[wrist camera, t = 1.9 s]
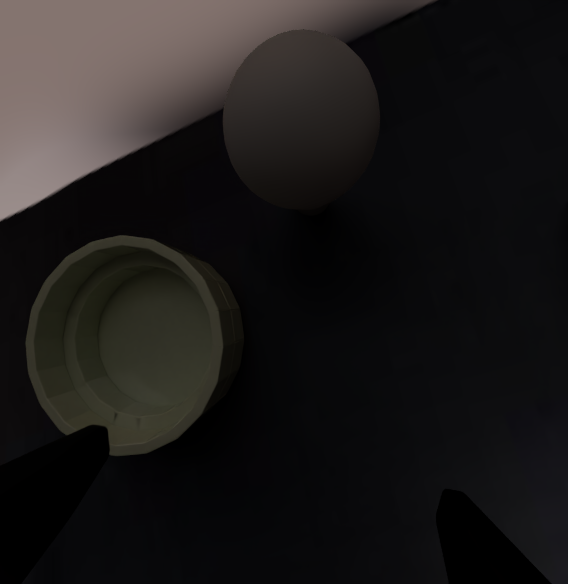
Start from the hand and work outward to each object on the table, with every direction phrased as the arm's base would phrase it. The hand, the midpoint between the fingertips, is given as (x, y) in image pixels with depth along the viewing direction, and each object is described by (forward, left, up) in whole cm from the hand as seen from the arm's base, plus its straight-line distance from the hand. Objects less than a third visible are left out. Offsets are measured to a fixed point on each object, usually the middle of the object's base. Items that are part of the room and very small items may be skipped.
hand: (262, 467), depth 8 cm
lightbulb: (+8, +8, -12) cm, 16 cm away
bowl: (-6, +9, -12) cm, 16 cm away
